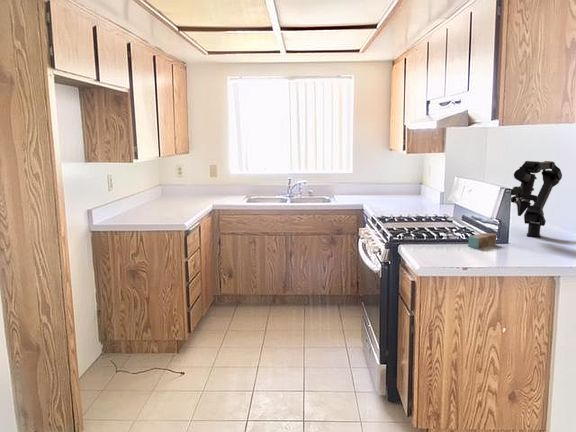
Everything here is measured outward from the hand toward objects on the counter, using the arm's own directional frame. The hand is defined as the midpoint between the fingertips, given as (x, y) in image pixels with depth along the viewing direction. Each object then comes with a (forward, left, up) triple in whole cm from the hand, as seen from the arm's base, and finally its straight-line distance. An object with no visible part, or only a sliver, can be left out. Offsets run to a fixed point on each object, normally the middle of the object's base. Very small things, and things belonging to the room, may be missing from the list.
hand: (519, 215), depth 248 cm
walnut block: (+14, -11, -10) cm, 20 cm away
